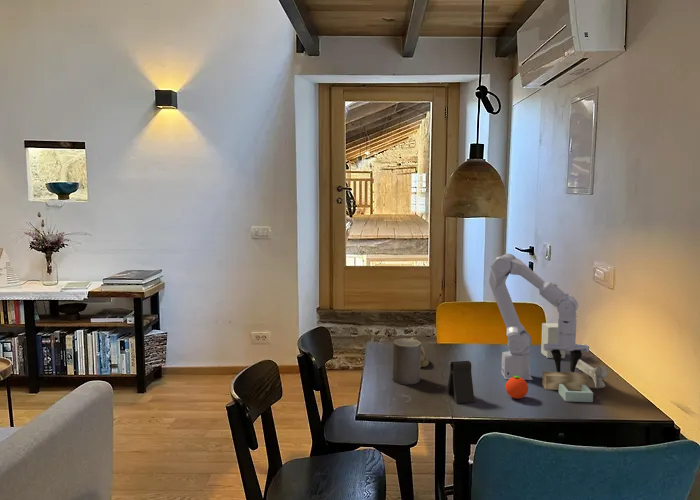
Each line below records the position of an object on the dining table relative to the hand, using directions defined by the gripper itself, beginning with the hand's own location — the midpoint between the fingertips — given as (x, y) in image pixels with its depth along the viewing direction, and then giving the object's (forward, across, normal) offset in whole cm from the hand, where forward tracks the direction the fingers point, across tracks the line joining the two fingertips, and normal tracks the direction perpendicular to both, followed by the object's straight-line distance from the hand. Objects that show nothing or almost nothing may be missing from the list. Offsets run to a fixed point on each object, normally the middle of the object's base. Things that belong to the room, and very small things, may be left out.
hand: (565, 371), depth 185 cm
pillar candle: (+5, -54, 0) cm, 54 cm away
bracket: (+5, 0, -11) cm, 12 cm away
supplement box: (+5, +5, +33) cm, 34 cm away
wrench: (+5, +10, +7) cm, 14 cm away
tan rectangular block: (+5, -1, -3) cm, 6 cm away
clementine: (+5, -19, -13) cm, 24 cm away
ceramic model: (+5, -51, +20) cm, 55 cm away
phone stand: (+5, -37, -15) cm, 40 cm away
